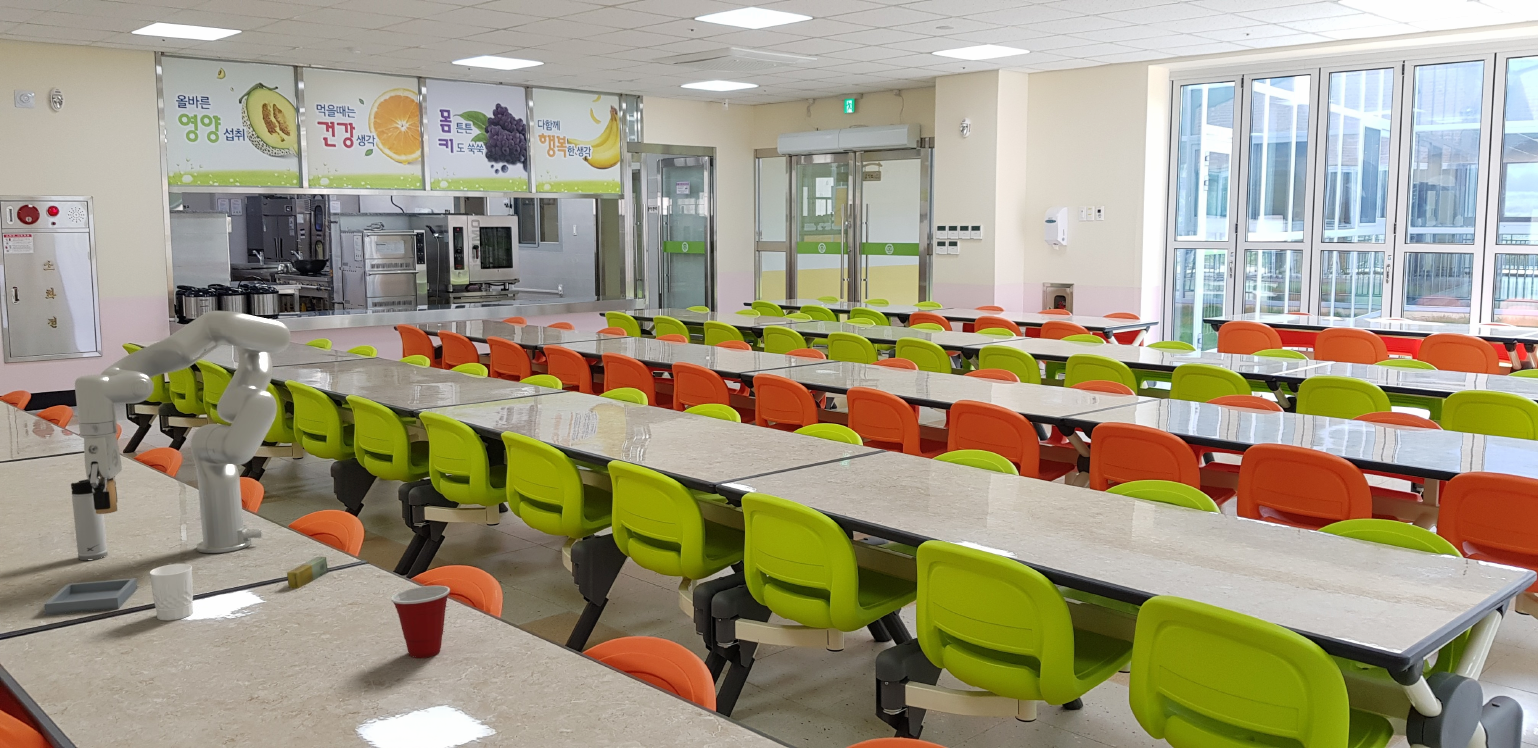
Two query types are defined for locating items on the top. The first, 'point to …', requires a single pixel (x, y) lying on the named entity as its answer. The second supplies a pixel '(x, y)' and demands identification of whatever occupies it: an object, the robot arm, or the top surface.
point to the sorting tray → (91, 596)
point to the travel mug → (88, 522)
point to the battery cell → (112, 498)
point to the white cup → (172, 591)
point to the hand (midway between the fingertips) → (106, 505)
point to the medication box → (307, 572)
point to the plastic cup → (422, 618)
